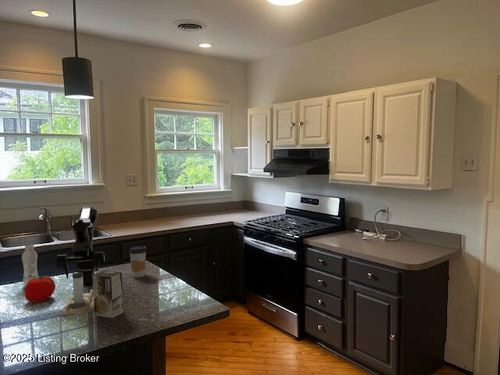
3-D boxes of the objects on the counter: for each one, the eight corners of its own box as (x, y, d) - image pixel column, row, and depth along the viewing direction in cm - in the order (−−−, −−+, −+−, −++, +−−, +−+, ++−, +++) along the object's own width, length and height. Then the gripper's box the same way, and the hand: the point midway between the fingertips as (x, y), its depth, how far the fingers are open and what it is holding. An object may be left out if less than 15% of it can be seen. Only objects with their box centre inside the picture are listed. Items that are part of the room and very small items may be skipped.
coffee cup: (149, 273, 194) (148, 246, 194) (143, 278, 186) (142, 249, 185) (134, 273, 195) (133, 245, 194) (127, 278, 187) (126, 249, 186)
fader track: (69, 298, 159) (69, 291, 159) (97, 295, 162) (96, 288, 162) (61, 315, 141) (61, 307, 141) (92, 311, 144) (92, 304, 144)
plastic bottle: (41, 284, 178) (40, 244, 177) (27, 288, 172) (25, 247, 171) (35, 282, 181) (33, 243, 180) (20, 286, 176) (18, 245, 174)
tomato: (17, 303, 154) (16, 280, 153) (43, 293, 165) (42, 271, 165) (37, 307, 150) (35, 282, 149) (62, 296, 162) (61, 274, 161)
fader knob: (72, 304, 148) (71, 272, 147) (86, 302, 149) (85, 271, 149) (71, 307, 144) (69, 275, 143) (85, 305, 146) (84, 274, 145)
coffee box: (124, 312, 144) (122, 271, 143) (113, 318, 137) (111, 276, 136) (105, 309, 146) (103, 270, 146) (93, 315, 140) (92, 274, 139)
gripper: (55, 236, 152) (50, 269, 142) (103, 233, 158) (102, 264, 148) (59, 250, 160) (55, 283, 150) (105, 247, 166) (104, 278, 156)
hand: (79, 276), depth 151 cm, fingers open, 9 cm apart
